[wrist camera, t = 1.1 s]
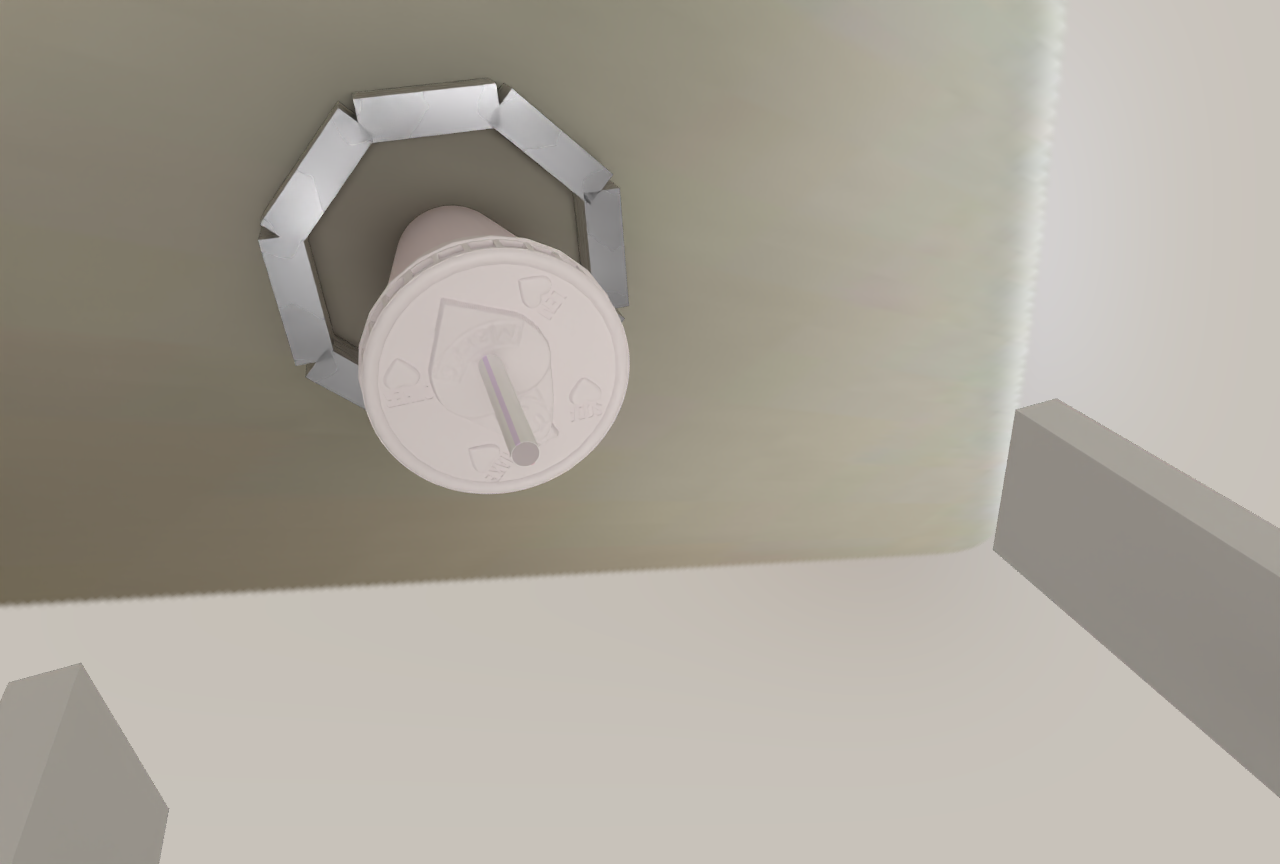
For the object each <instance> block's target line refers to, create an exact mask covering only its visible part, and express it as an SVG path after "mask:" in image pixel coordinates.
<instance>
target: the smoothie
mask: <svg viewBox="0 0 1280 864" xmlns="http://www.w3.org/2000/svg"><path fill="white" fill-rule="evenodd" d="M629 368H630V360H629V348H628V342H627V338H626V334H625V330H624V327H623V325H622V322H621V320H620V317H619V315H618V314H617V312H616V310H615V308H614V306H613V305H612V303H611V302H610V299H609V297H608V295H607V294H606V292H605V291H604V290H603V288H602V287H601V286H600V285H599V283H598V282H597V281H596V280H595V278H594V277H593V276H592V275H591V273H590V272H589V271H588V270H587V269H586V268H584V267H583V266H581V265H580V264H579V263H577V262H576V261H574V260H573V259H572V258H570V257H569V256H567V255H566V254H565V253H563V252H562V251H560V250H558V249H555V248H552V247H550V246H547V245H544V244H541V243H539V242H536V241H533V240H530V239H527V238H518V237H516V236H515V235H513V234H512V233H510V232H509V231H507V230H506V229H504V228H503V227H501V226H500V225H498V224H497V223H495V222H494V221H492V220H491V219H489V218H488V217H486V216H485V215H483V214H481V213H480V212H478V211H476V210H473V209H470V208H467V207H463V206H454V205H450V206H441V207H436V208H433V209H430V210H428V211H426V212H424V213H422V214H420V215H419V216H418V217H416V218H415V219H414V220H413V221H412V222H411V223H410V224H409V225H408V226H407V227H406V229H405V230H404V232H403V233H402V235H401V237H400V239H399V242H398V245H397V249H396V253H395V257H394V262H393V266H392V270H391V274H390V278H389V282H388V285H387V287H386V288H385V290H384V291H383V293H382V294H381V296H380V297H379V299H378V300H377V302H376V303H375V304H374V306H373V307H372V309H371V310H370V312H369V315H368V318H367V321H366V324H365V327H364V330H363V334H362V337H361V340H360V343H359V357H358V380H359V384H360V387H361V391H362V394H363V400H364V405H365V409H366V412H367V415H368V418H369V420H370V423H371V425H372V427H373V429H374V431H375V433H376V434H377V436H378V437H379V439H380V441H381V442H382V444H383V445H384V446H385V447H386V449H387V450H388V451H389V452H390V453H391V454H392V455H393V456H394V457H395V458H396V459H397V460H398V461H399V462H400V463H401V464H402V465H404V466H405V467H406V468H407V469H409V470H410V471H412V472H413V473H415V474H416V475H418V476H420V477H422V478H423V479H425V480H427V481H429V482H432V483H434V484H436V485H439V486H442V487H445V488H448V489H451V490H456V491H460V492H466V493H474V494H501V493H509V492H515V491H520V490H524V489H528V488H531V487H534V486H537V485H540V484H542V483H545V482H547V481H550V480H552V479H554V478H556V477H558V476H559V475H561V474H563V473H565V472H566V471H568V470H569V469H571V468H572V467H574V466H575V465H577V464H578V463H579V462H580V461H582V460H583V459H584V458H585V457H586V456H587V455H588V454H590V453H591V452H592V451H593V450H594V449H595V448H596V446H597V445H598V444H599V443H600V442H601V441H602V439H603V438H604V437H605V435H606V434H607V432H608V431H609V430H610V428H611V426H612V425H613V423H614V421H615V419H616V417H617V415H618V413H619V411H620V409H621V406H622V403H623V401H624V398H625V394H626V390H627V386H628V379H629Z"/></svg>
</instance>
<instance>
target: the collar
mask: <svg viewBox="0 0 1280 864" xmlns="http://www.w3.org/2000/svg"><path fill="white" fill-rule="evenodd" d="M352 96H353V102H354V106H355V110H356V114H355V113H353V112H352V111H351V110H349V109H348V108H347V107H345V106H344V105H343V104H341V103H340V102H339V101H338V102H337V103H336V105H335V106H334V108H333V109H332V111H331V112H330V114H329V115H328V117H327V118H326V120H325V121H324V123H323V124H322V126H321V127H320V129H319V130H318V132H317V133H316V135H315V136H314V138H313V139H312V141H311V142H310V144H309V145H308V147H307V148H306V150H305V151H304V153H303V154H302V156H301V157H300V159H299V160H298V162H297V163H296V165H295V166H294V167H293V169H292V170H291V172H290V173H289V175H288V176H287V178H286V179H285V181H284V182H283V184H282V185H281V187H280V188H279V190H278V191H277V193H276V194H275V196H274V197H273V199H272V200H271V202H270V203H269V205H268V206H267V208H266V209H265V211H264V213H263V216H262V220H261V223H260V224H261V225H262V226H264V227H262V228H261V231H260V235H259V238H258V242H259V245H260V249H261V252H262V255H263V259H264V262H265V265H266V269H267V272H268V275H269V279H270V282H271V285H272V289H273V292H274V295H275V299H276V302H277V305H278V309H279V312H280V315H281V319H282V322H283V325H284V328H285V332H286V335H287V338H288V342H289V345H290V348H291V352H292V355H293V358H294V362H295V365H296V366H297V365H303V364H306V378H308V379H310V380H311V381H313V382H315V383H317V384H319V385H321V386H323V387H324V388H326V389H328V390H330V391H332V392H334V393H336V394H338V395H339V396H341V397H343V398H345V399H347V400H349V401H351V402H352V403H354V404H356V405H358V406H360V407H362V408H364V409H365V405H364V400H363V394H362V391H361V387H360V384H359V380H358V357H359V349H358V348H356V347H355V346H353V345H351V344H349V343H348V342H346V341H344V340H343V339H341V338H339V337H337V336H336V335H334V334H333V330H332V326H331V322H330V319H329V315H328V311H327V308H326V304H325V300H324V296H323V293H322V289H321V285H320V282H319V278H318V274H317V271H316V267H315V263H314V259H313V256H312V252H311V248H310V245H309V241H308V237H307V236H308V235H309V234H310V232H311V231H312V229H313V228H314V226H315V225H316V223H317V222H318V220H319V219H320V217H321V216H322V215H323V213H324V212H325V210H326V209H327V207H328V206H329V204H330V203H331V201H332V200H333V199H334V197H335V196H336V194H337V193H338V191H339V190H340V188H341V187H342V185H343V184H344V183H345V181H346V180H347V178H348V177H349V175H350V174H351V172H352V171H353V169H354V168H355V167H356V165H357V164H358V162H359V161H360V159H361V158H362V156H363V155H364V153H365V152H366V151H367V149H368V148H369V146H370V145H371V143H376V142H385V141H393V140H401V139H409V138H417V137H425V136H433V135H442V134H450V133H458V132H466V131H474V130H482V129H490V128H495V129H496V130H497V131H499V132H500V133H501V134H502V135H503V136H505V137H506V138H507V139H508V140H510V141H511V142H512V143H513V144H515V145H516V146H517V147H518V148H520V149H521V150H522V151H523V152H524V153H526V154H527V155H528V156H529V157H531V158H532V159H533V160H534V161H536V162H537V163H538V164H539V165H541V166H542V167H543V168H544V169H546V170H547V171H548V172H549V173H550V174H552V175H553V176H554V177H555V178H557V179H558V180H559V181H560V182H562V183H563V184H564V185H565V186H567V187H568V188H569V189H570V190H572V191H573V197H574V206H575V216H576V225H577V235H578V244H579V254H580V264H581V266H583V267H584V268H586V269H587V270H588V271H589V272H590V273H591V275H592V276H593V277H594V278H595V280H596V281H597V282H598V283H599V285H600V286H601V287H602V288H603V290H604V291H605V292H606V294H607V295H608V297H609V299H610V302H611V303H612V305H613V306H614V308H615V310H616V312H617V314H618V315H619V317H620V320H621V322H622V321H623V320H624V319H625V318H624V317H623V316H622V315H621V314H620V312H619V311H618V310H617V309H616V308H619V307H625V306H629V302H628V289H627V276H626V263H625V250H624V237H623V224H622V210H621V197H620V188H619V187H618V186H617V185H615V184H614V183H613V182H611V181H610V180H609V179H610V178H611V177H612V175H613V174H612V173H611V172H610V171H608V170H607V169H606V168H605V167H604V166H603V165H601V164H600V163H599V162H598V161H597V160H596V159H594V158H593V157H592V156H591V155H590V154H588V153H587V152H586V151H585V150H584V149H583V148H581V147H580V146H579V145H578V144H577V143H576V142H574V141H573V140H572V139H571V138H570V137H568V136H567V135H566V134H565V133H564V132H563V131H561V130H560V129H559V128H558V127H557V126H556V125H554V124H553V123H552V122H551V121H550V120H548V119H547V118H546V117H545V116H544V115H543V114H541V113H540V112H539V111H538V110H537V109H536V108H534V107H533V106H532V105H531V104H530V103H528V102H527V101H526V100H525V99H524V98H523V97H521V96H520V95H519V94H518V93H517V92H516V91H514V90H513V89H512V88H510V87H509V86H507V85H506V84H504V83H503V84H502V85H501V87H500V88H499V90H498V91H497V87H496V83H495V82H493V81H492V80H490V79H489V78H483V79H474V80H465V81H456V82H446V83H437V84H428V85H419V86H410V87H400V88H391V89H382V90H373V91H364V92H354V93H352ZM365 410H366V409H365Z"/></svg>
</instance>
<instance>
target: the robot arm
mask: <svg viewBox="0 0 1280 864" xmlns="http://www.w3.org/2000/svg"><path fill="white" fill-rule="evenodd" d="M993 550H994V551H995V552H996V553H997V554H998V555H1000V556H1001V557H1002V558H1003V559H1004V560H1005V561H1007V562H1008V563H1009V564H1010V565H1011V566H1012V567H1014V568H1015V569H1016V570H1017V571H1018V572H1019V573H1021V574H1022V575H1023V576H1024V577H1025V578H1026V579H1027V580H1028V581H1030V582H1031V583H1032V584H1033V585H1034V586H1036V587H1037V588H1038V589H1039V590H1040V591H1041V592H1043V593H1044V594H1045V595H1046V596H1047V597H1048V598H1049V599H1051V600H1052V601H1053V602H1054V603H1055V604H1056V605H1057V606H1059V607H1060V608H1061V609H1062V610H1063V611H1065V612H1066V613H1067V614H1068V615H1069V616H1070V617H1071V618H1072V619H1074V620H1075V621H1076V622H1077V623H1078V624H1079V625H1081V626H1082V627H1083V628H1084V629H1085V630H1086V631H1087V632H1089V633H1090V634H1091V635H1092V636H1093V637H1094V638H1096V639H1097V640H1098V641H1099V642H1100V643H1101V644H1103V645H1104V646H1105V647H1106V648H1107V649H1108V650H1110V651H1111V652H1112V653H1113V654H1114V655H1115V656H1116V657H1118V658H1119V659H1120V660H1121V661H1122V662H1123V663H1124V664H1126V665H1127V666H1128V667H1129V668H1130V669H1131V670H1133V671H1134V672H1135V673H1136V674H1137V675H1138V676H1139V677H1141V678H1142V679H1143V680H1144V681H1145V682H1146V683H1148V684H1149V685H1150V686H1151V687H1152V688H1153V689H1155V690H1156V691H1157V692H1158V693H1159V694H1160V695H1161V696H1163V697H1164V698H1165V699H1166V700H1167V701H1168V702H1170V703H1171V704H1172V705H1173V706H1174V707H1176V709H1178V710H1179V711H1180V712H1181V713H1182V714H1184V715H1185V716H1186V717H1187V718H1188V719H1189V720H1190V721H1192V722H1193V723H1194V724H1195V725H1196V726H1197V727H1198V728H1200V729H1201V730H1202V731H1203V732H1204V733H1206V734H1207V735H1208V736H1209V737H1210V738H1211V739H1212V740H1213V741H1215V742H1216V743H1217V744H1218V745H1219V746H1221V747H1222V748H1223V749H1224V750H1225V751H1226V752H1227V753H1229V754H1230V755H1231V756H1232V757H1233V758H1234V759H1236V760H1237V761H1238V762H1239V763H1240V764H1241V765H1242V766H1244V767H1245V768H1246V769H1247V770H1248V771H1249V772H1250V773H1252V774H1253V775H1254V776H1255V777H1256V778H1257V779H1259V780H1260V781H1261V782H1262V783H1263V784H1264V785H1266V786H1267V787H1268V788H1269V789H1270V790H1271V791H1272V792H1274V793H1275V794H1276V795H1277V796H1278V797H1279V798H1280V528H1278V527H1276V526H1274V525H1272V524H1271V523H1269V522H1268V521H1266V520H1264V519H1262V518H1261V517H1259V516H1257V515H1256V514H1254V513H1252V512H1250V511H1249V510H1247V509H1245V508H1244V507H1242V506H1240V505H1238V504H1237V503H1235V502H1233V501H1231V500H1230V499H1228V498H1226V497H1225V496H1223V495H1221V494H1219V493H1218V492H1216V491H1215V490H1213V489H1211V488H1209V487H1207V486H1206V485H1204V484H1202V483H1201V482H1199V481H1197V480H1196V479H1194V478H1192V477H1191V476H1189V475H1187V474H1185V473H1184V472H1182V471H1180V470H1178V469H1177V468H1175V467H1173V466H1172V465H1170V464H1168V463H1167V462H1165V461H1163V460H1161V459H1160V458H1158V457H1156V456H1154V455H1153V454H1151V453H1149V452H1148V451H1146V450H1144V449H1143V448H1141V447H1139V446H1137V445H1136V444H1134V443H1132V442H1131V441H1129V440H1127V439H1125V438H1123V437H1122V436H1120V435H1119V434H1117V433H1115V432H1113V431H1112V430H1110V429H1108V428H1107V427H1105V426H1103V425H1101V424H1100V423H1098V422H1096V421H1095V420H1093V419H1091V418H1089V417H1088V416H1086V415H1084V414H1083V413H1081V412H1079V411H1077V410H1076V409H1074V408H1072V407H1071V406H1069V405H1067V404H1065V403H1064V402H1062V401H1060V400H1059V399H1053V400H1049V401H1045V402H1042V403H1038V404H1034V405H1031V406H1027V407H1023V408H1020V409H1016V410H1015V417H1014V423H1013V429H1012V435H1011V441H1010V447H1009V454H1008V460H1007V466H1006V472H1005V478H1004V484H1003V490H1002V497H1001V503H1000V509H999V515H998V521H997V527H996V534H995V540H994V546H993ZM168 812H169V808H168V807H167V805H166V803H165V802H164V800H163V798H162V797H161V795H160V793H159V792H158V790H157V789H156V787H155V785H154V783H153V782H152V780H151V778H150V777H149V775H148V773H147V772H146V770H145V769H144V767H143V765H142V764H141V762H140V760H139V758H138V757H137V755H136V753H135V752H134V750H133V748H132V747H131V746H130V743H129V742H128V740H127V738H126V737H125V735H124V733H123V732H122V730H121V728H120V727H119V725H118V723H117V722H116V720H115V719H114V717H113V715H112V713H111V712H110V710H109V708H108V707H107V705H106V704H105V702H104V700H103V698H102V697H101V695H100V693H99V692H98V690H97V689H96V687H95V685H94V683H93V682H92V680H91V678H90V677H89V675H88V674H87V672H86V670H85V668H84V667H83V665H82V663H79V664H75V665H72V666H68V667H65V668H61V669H57V670H53V671H50V672H46V673H42V674H38V675H35V676H31V677H27V678H24V679H20V680H17V681H13V682H9V683H8V685H7V688H6V690H5V692H4V694H3V697H2V699H1V701H0V864H159V861H160V855H161V849H162V844H163V839H164V833H165V828H166V823H167V817H168Z"/></svg>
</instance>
